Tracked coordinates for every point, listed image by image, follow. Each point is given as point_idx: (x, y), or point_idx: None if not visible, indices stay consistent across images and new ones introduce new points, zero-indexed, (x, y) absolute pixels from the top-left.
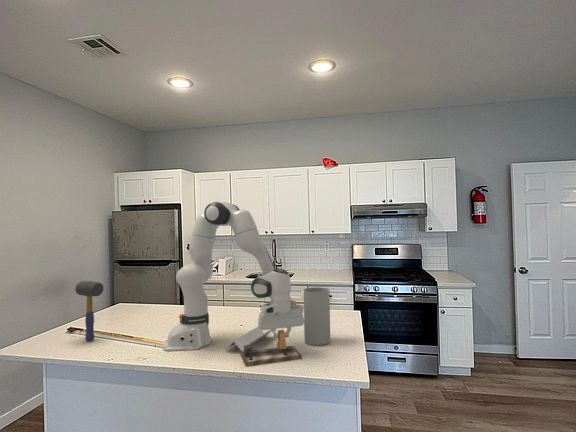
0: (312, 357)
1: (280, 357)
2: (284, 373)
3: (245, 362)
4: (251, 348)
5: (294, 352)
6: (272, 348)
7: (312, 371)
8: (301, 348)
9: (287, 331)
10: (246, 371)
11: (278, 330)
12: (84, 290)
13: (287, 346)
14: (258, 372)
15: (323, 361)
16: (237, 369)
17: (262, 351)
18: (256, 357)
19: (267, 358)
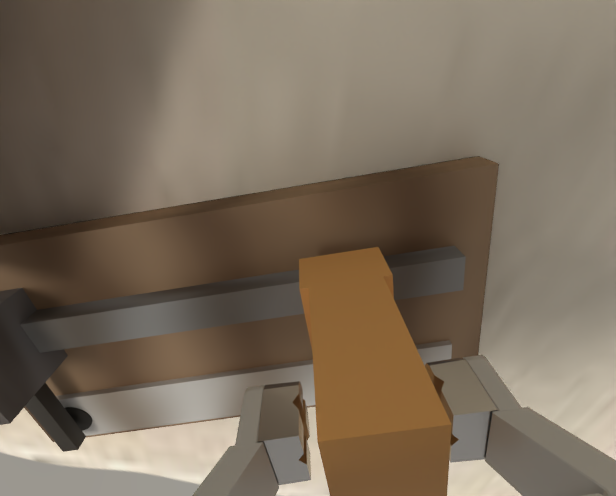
0: (545, 353)
1: (306, 403)
2: (308, 488)
3: (50, 436)
4: (6, 418)
5: (438, 352)
6: (245, 214)
7: (451, 484)
8: (567, 160)
9: (516, 459)
10: (96, 460)
11: (336, 446)
12: None
13: (425, 184)
14: (169, 472)
15: (575, 408)
16: (29, 439)
17: (142, 335)
18: (112, 397)
19: (205, 417)
